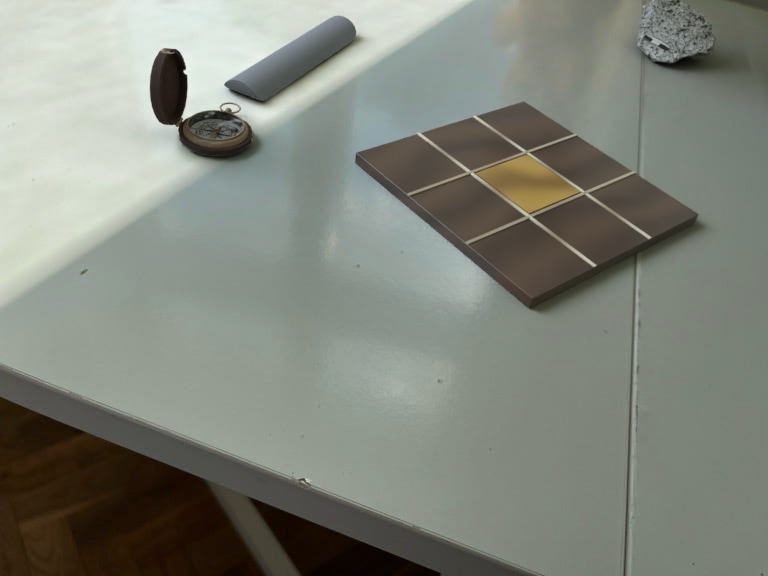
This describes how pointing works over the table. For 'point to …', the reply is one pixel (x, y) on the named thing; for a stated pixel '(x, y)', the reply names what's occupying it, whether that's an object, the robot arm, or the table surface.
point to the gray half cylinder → (294, 59)
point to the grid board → (526, 198)
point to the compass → (202, 129)
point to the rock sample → (674, 31)
